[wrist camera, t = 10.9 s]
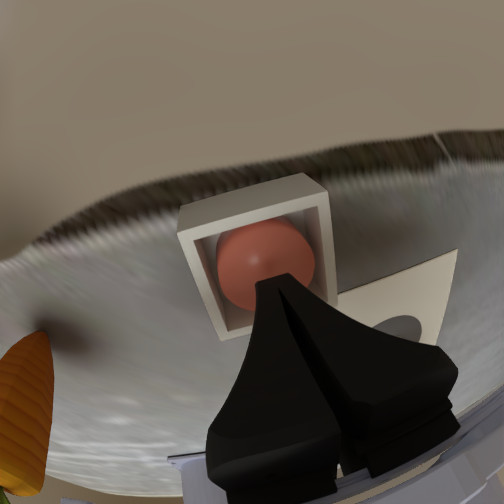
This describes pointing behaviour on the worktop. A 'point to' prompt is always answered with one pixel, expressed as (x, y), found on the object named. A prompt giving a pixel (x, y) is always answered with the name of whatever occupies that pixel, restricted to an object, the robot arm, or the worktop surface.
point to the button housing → (247, 212)
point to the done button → (261, 258)
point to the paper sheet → (405, 300)
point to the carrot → (25, 415)
